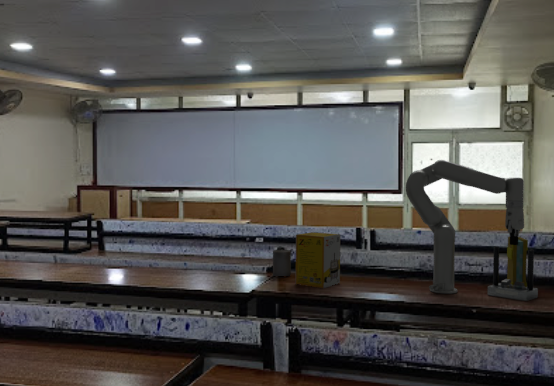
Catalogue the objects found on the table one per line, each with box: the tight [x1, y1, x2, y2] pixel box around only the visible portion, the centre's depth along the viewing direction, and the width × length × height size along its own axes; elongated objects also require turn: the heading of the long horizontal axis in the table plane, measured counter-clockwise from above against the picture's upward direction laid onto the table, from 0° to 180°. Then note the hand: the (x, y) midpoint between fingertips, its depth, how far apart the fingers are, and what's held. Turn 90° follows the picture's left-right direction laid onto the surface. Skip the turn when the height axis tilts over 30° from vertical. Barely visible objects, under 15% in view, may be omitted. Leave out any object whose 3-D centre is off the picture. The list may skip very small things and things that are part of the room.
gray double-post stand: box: [487, 245, 539, 302], centre depth 270 cm, size 12×18×22 cm, turn 44°
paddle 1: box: [500, 278, 511, 286], centre depth 272 cm, size 4×2×2 cm, turn 134°
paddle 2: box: [515, 282, 524, 286], centre depth 268 cm, size 4×2×2 cm, turn 134°
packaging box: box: [295, 231, 341, 289], centre depth 296 cm, size 16×16×25 cm
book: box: [506, 235, 529, 287], centre depth 286 cm, size 17×7×25 cm, turn 168°
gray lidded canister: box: [272, 249, 292, 277], centre depth 319 cm, size 10×10×15 cm
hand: (513, 244), depth 269 cm, fingers closed
